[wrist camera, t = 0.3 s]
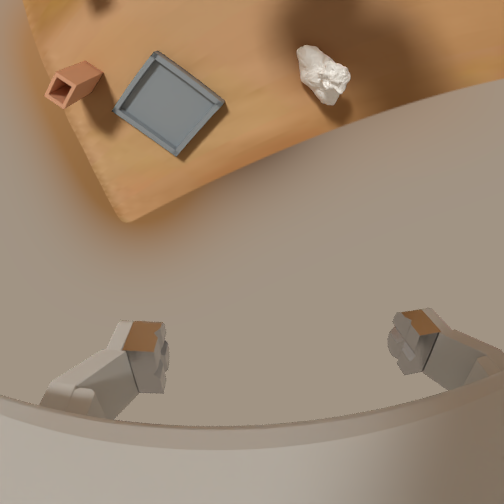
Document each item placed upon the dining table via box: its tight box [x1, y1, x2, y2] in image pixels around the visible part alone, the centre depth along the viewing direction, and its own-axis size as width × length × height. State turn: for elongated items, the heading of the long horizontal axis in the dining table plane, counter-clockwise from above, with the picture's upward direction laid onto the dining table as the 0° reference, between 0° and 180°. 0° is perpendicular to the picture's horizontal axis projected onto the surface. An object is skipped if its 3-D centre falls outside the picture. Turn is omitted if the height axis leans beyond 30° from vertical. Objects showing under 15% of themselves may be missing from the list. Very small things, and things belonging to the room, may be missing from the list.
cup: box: [45, 61, 103, 109], centre depth 42 cm, size 5×5×11 cm
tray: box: [112, 51, 225, 157], centre depth 51 cm, size 14×16×2 cm
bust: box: [297, 45, 351, 105], centre depth 44 cm, size 12×8×11 cm
